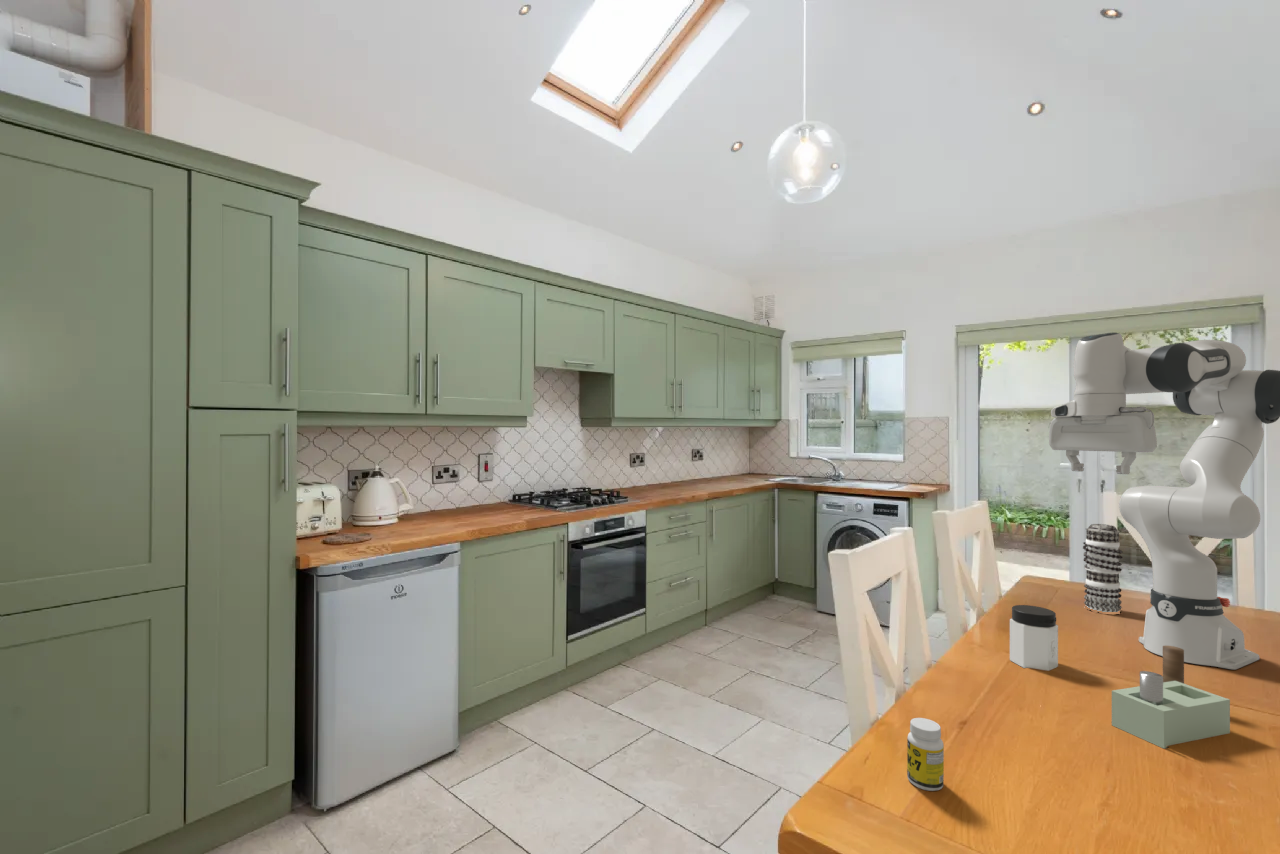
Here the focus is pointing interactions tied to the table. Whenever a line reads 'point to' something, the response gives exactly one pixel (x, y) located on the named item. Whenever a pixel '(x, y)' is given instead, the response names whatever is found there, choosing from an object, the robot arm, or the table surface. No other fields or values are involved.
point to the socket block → (1171, 714)
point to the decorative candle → (1102, 568)
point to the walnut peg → (1173, 664)
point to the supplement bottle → (925, 755)
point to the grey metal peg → (1151, 687)
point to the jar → (1034, 637)
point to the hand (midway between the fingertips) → (1099, 472)
